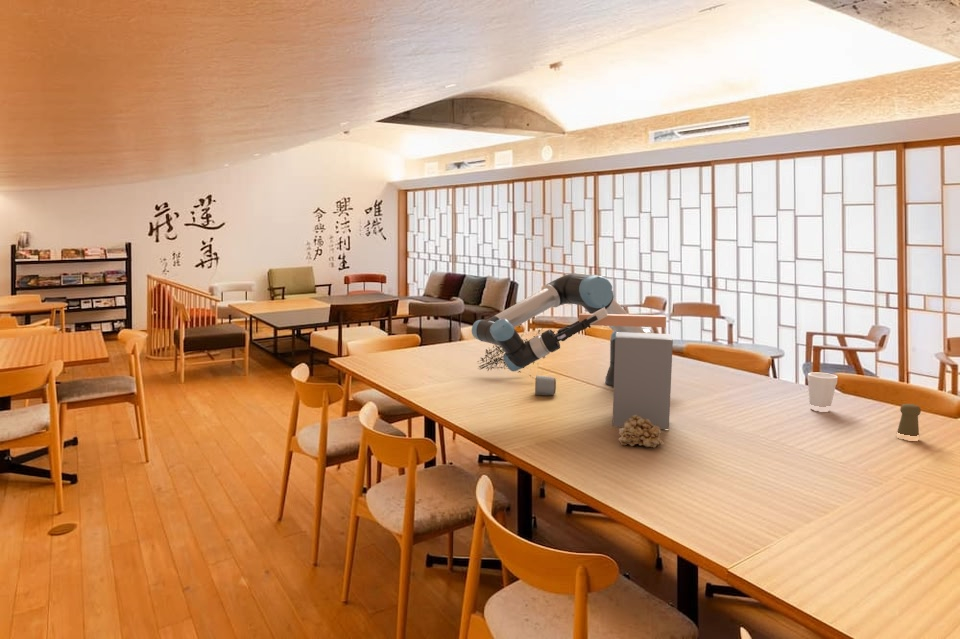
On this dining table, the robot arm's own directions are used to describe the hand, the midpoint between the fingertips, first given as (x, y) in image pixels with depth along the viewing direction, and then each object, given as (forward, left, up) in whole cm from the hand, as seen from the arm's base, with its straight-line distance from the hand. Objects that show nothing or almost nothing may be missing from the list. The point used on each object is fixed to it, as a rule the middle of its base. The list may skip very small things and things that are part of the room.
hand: (606, 311), depth 205 cm
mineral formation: (+7, +23, -38) cm, 45 cm away
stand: (-8, +9, -38) cm, 40 cm away
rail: (-3, +4, -5) cm, 7 cm away
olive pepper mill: (-63, +69, -38) cm, 101 cm away
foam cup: (-73, +38, -38) cm, 91 cm away
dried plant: (-20, -66, -38) cm, 79 cm away
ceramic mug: (-8, -38, -38) cm, 55 cm away
